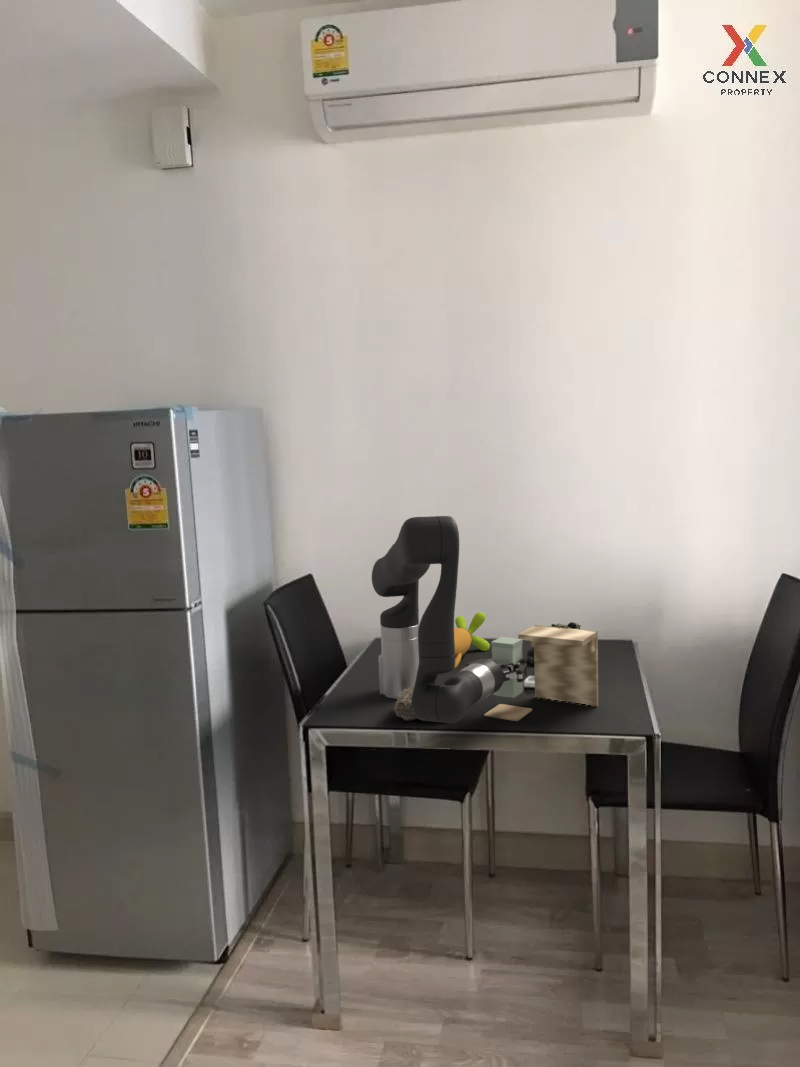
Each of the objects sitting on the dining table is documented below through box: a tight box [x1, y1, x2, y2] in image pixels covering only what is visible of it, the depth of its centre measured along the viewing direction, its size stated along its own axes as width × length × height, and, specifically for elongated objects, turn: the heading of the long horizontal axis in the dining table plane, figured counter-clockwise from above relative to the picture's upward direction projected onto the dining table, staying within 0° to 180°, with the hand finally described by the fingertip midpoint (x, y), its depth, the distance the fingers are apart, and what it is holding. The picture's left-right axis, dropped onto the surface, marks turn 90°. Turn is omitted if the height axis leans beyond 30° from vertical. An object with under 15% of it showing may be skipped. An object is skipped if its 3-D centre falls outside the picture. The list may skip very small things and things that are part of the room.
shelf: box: [517, 624, 599, 708], centre depth 204 cm, size 15×10×17 cm, turn 58°
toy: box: [454, 611, 491, 669], centre depth 246 cm, size 13×14×30 cm
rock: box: [392, 687, 418, 722], centre depth 203 cm, size 13×6×15 cm
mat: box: [483, 703, 533, 722], centre depth 202 cm, size 8×8×1 cm
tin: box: [490, 636, 524, 699], centre depth 200 cm, size 5×5×12 cm
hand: (512, 661), depth 202 cm, fingers closed on tin, 5 cm apart
